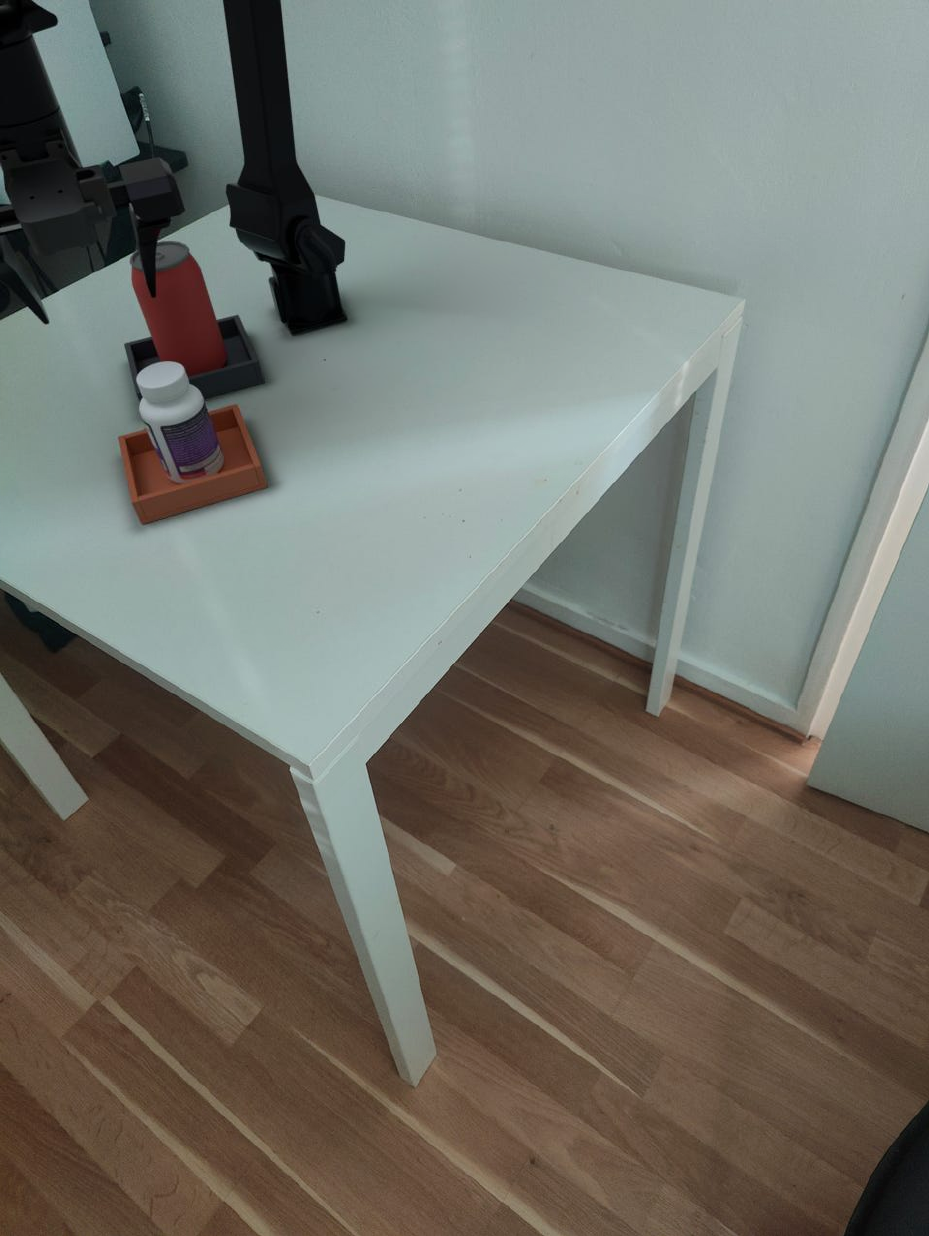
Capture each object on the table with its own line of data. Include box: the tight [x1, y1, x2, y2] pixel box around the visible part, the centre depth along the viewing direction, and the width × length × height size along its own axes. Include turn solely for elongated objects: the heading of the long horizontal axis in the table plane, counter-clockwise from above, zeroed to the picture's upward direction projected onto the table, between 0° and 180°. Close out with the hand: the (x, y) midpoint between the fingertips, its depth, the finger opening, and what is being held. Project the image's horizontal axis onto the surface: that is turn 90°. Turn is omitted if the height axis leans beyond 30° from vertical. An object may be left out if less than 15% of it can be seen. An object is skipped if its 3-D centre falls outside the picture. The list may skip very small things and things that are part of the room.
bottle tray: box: [117, 403, 269, 525], centre depth 78 cm, size 11×10×2 cm
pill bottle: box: [136, 361, 224, 484], centre depth 75 cm, size 5×5×10 cm
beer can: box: [129, 240, 227, 377], centre depth 85 cm, size 7×7×12 cm
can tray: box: [123, 314, 266, 403], centre depth 89 cm, size 12×10×2 cm
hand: (100, 308), depth 76 cm, fingers open, 9 cm apart
